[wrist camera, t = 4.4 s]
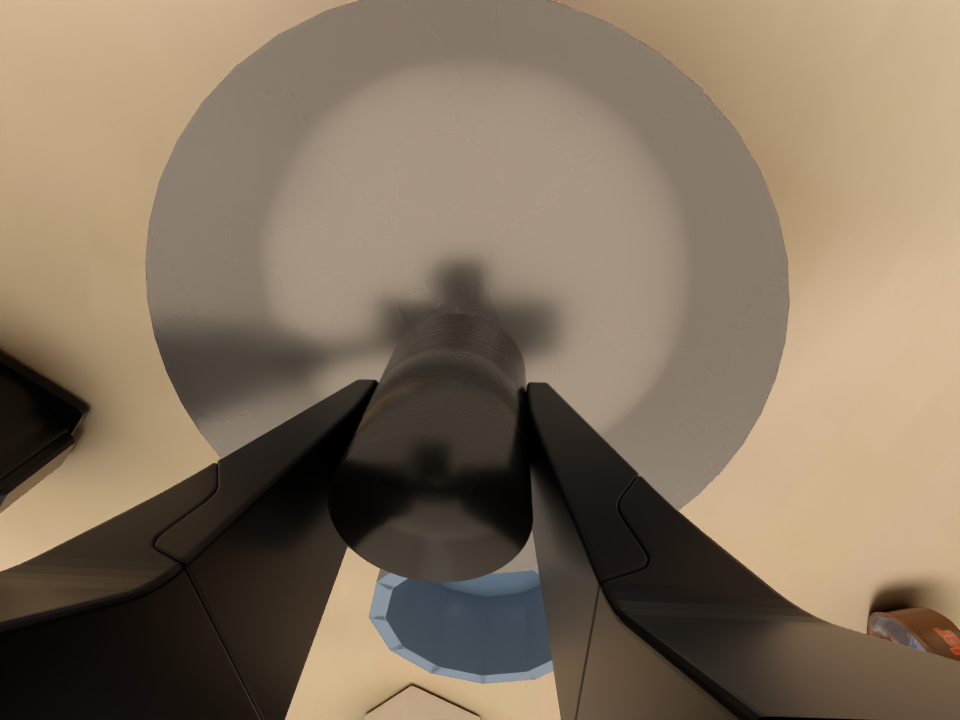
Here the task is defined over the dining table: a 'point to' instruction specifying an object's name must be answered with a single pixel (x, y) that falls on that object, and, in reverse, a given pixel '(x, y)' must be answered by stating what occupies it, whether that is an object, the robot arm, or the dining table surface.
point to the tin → (917, 630)
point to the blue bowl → (466, 625)
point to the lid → (467, 264)
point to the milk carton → (418, 708)
